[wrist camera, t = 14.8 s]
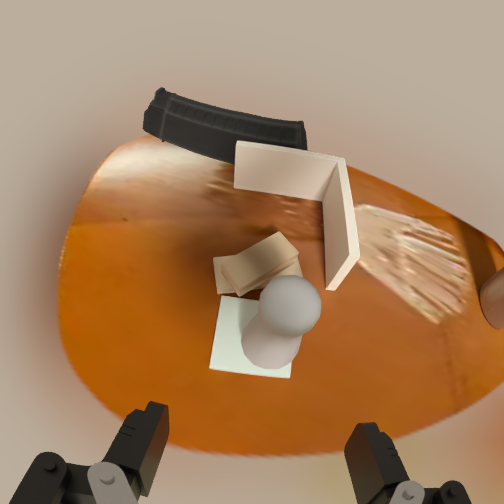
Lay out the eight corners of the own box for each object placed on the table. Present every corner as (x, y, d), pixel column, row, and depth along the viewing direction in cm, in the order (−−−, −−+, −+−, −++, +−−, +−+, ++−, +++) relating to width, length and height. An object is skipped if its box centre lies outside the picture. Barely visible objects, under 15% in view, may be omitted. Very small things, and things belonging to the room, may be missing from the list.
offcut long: (291, 257, 36) (294, 248, 34) (299, 285, 34) (303, 277, 32) (213, 266, 35) (213, 257, 33) (217, 296, 33) (216, 288, 31)
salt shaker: (289, 377, 27) (332, 349, 16) (235, 367, 27) (240, 333, 16) (297, 326, 30) (337, 269, 19) (246, 316, 30) (257, 252, 19)
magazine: (336, 137, 37) (163, 51, 33) (332, 148, 35) (151, 57, 32) (285, 200, 51) (150, 126, 48) (280, 213, 49) (140, 135, 46)
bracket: (329, 197, 42) (344, 158, 36) (334, 290, 33) (360, 256, 27) (235, 182, 42) (237, 140, 35) (214, 274, 33) (212, 235, 27)
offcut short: (276, 241, 35) (279, 231, 33) (295, 262, 33) (298, 252, 31) (221, 272, 32) (221, 262, 30) (239, 297, 30) (239, 288, 28)
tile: (294, 307, 32) (295, 305, 31) (288, 378, 27) (290, 377, 27) (221, 297, 32) (221, 295, 31) (209, 368, 27) (209, 367, 27)
